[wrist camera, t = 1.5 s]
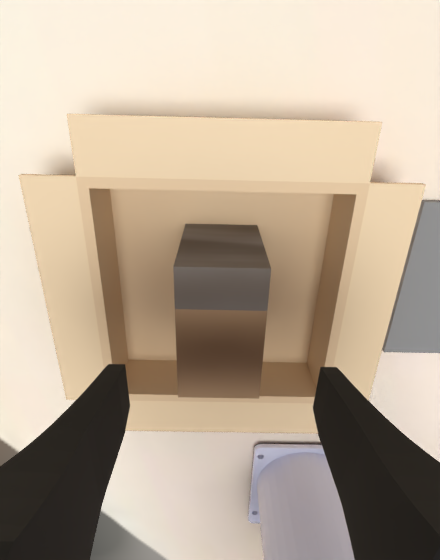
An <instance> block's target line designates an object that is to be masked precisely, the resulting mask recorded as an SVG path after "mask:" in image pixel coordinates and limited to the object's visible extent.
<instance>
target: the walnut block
mask: <svg viewBox="0 0 440 560" xmlns="http://www.w3.org/2000/svg"><path fill="white" fill-rule="evenodd" d="M173 272H174V300H175V328H176V356H177V384H178V397H191V398H253V399H259V396H260V385H261V374H262V364H263V353H264V342H265V331H266V320H267V310H268V299H269V288H270V277H271V266H270V263H269V260H268V257H267V254H266V251H265V247H264V244H263V241H262V238H261V235H260V232H259V229H258V226H257V225H231V224H185V227H184V231H183V234H182V238H181V241H180V245H179V248H178V252H177V255H176V259H175V262H174V266H173Z"/></svg>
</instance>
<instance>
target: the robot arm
mask: <svg viewBox="0 0 440 560" xmlns="http://www.w3.org/2000/svg"><path fill="white" fill-rule="evenodd" d="M129 409H130V400H129V392H128V383H127V375H126V367H125V364H108V365H107V366H106V367H105V368H104V369H103V370H102V372H101V373H100V374H99V375H98V376H97V377H96V379H95V380H94V381H93V382H92V383H91V384H90V385H89V387H88V388H87V389H86V390H85V391H84V392H83V393H82V394H81V395H80V396H79V398H78V399H77V400H76V401H75V402H74V403H73V404H72V405H71V406H70V407H69V408H68V409H67V410H66V411H65V412H64V413H63V414H62V415H61V416H60V417H59V418H58V419H57V420H56V421H55V422H54V423H53V424H52V425H51V426H50V427H49V428H47V429H46V430H45V431H44V432H43V433H42V434H41V435H40V436H38V437H37V438H36V439H35V440H34V441H33V442H31V443H30V444H29V445H28V446H27V447H25V448H24V449H23V450H22V451H20V452H19V453H18V454H16V455H15V456H14V457H12V458H11V459H10V460H8V461H7V462H6V463H4V464H3V465H2V466H0V560H90V556H91V551H92V546H93V542H94V537H95V532H96V528H97V524H98V519H99V515H100V511H101V506H102V503H103V499H104V496H105V492H106V489H107V486H108V483H109V480H110V477H111V474H112V471H113V468H114V465H115V462H116V458H117V455H118V452H119V449H120V446H121V443H122V440H123V437H124V433H125V429H126V424H127V419H128V414H129ZM313 412H314V417H315V422H316V426H317V431H318V435H319V438H320V441H321V444H322V445H304V444H258V445H256V446H255V448H254V456H253V467H252V478H251V489H250V500H249V511H248V520H249V522H251V523H260V527H261V537H262V548H263V558H264V560H440V462H438V461H437V460H436V459H434V458H433V457H432V456H430V455H429V454H428V453H426V452H425V451H424V450H423V449H421V448H420V447H419V446H418V445H416V444H415V443H414V442H413V441H411V440H410V439H409V438H408V437H406V436H405V435H404V434H403V433H402V432H401V431H400V430H398V429H397V428H396V427H395V426H394V425H393V424H392V423H391V422H390V421H389V420H387V419H386V418H385V417H384V416H383V415H382V414H381V413H380V412H379V411H378V410H377V409H376V408H375V407H374V406H373V405H372V404H371V403H370V402H369V401H368V400H367V399H366V398H365V397H364V396H363V395H362V394H361V393H360V391H359V390H358V389H357V388H356V387H355V386H354V385H353V384H352V383H351V382H350V381H349V380H348V379H347V377H346V376H345V375H344V374H343V373H342V372H341V371H340V370H339V369H338V368H337V367H320V372H319V377H318V383H317V388H316V393H315V398H314V404H313Z"/></svg>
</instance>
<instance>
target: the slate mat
mask: <svg viewBox="0 0 440 560" xmlns="http://www.w3.org/2000/svg"><path fill="white" fill-rule="evenodd" d="M382 350H383V351H384V352H415V353H440V201H430V200H422V201H421V205H420V209H419V212H418V216H417V220H416V224H415V227H414V231H413V235H412V239H411V242H410V246H409V250H408V254H407V257H406V261H405V265H404V269H403V273H402V276H401V280H400V284H399V288H398V291H397V295H396V299H395V303H394V306H393V310H392V314H391V318H390V321H389V325H388V329H387V333H386V336H385V340H384V344H383V348H382Z"/></svg>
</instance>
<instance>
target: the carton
mask: <svg viewBox="0 0 440 560" xmlns="http://www.w3.org/2000/svg"><path fill="white" fill-rule="evenodd" d="M67 119H68V126H69V133H70V140H71V147H72V154H73V160H74V167H75V174H76V175H42V174H21V175H19V179H20V184H21V189H22V193H23V198H24V203H25V208H26V212H27V217H28V222H29V226H30V231H31V236H32V240H33V245H34V250H35V255H36V259H37V264H38V269H39V273H40V278H41V283H42V287H43V292H44V297H45V302H46V306H47V311H48V316H49V320H50V325H51V330H52V335H53V339H54V344H55V349H56V353H57V358H58V363H59V367H60V372H61V377H62V382H63V386H64V391H65V396H66V400H77V399H78V398H79V396H80V395H81V394H82V393H83V392H84V391H85V390H86V389H87V388H88V387H89V385H90V384H91V383H92V382H93V381H94V380H95V379H96V377H97V376H98V375H99V374H100V373H101V372H102V370H103V369H104V368H105V367H106V366H107V365H108V364H125V367H126V375H127V383H128V392H129V400H130V409H129V414H128V419H127V424H126V429H125V431H182V432H249V433H316V434H318V431H317V426H316V422H315V417H314V412H313V404H314V398H315V393H316V388H317V383H318V377H319V372H320V367H337V368H338V369H339V370H340V371H341V372H342V373H343V374H344V375H345V376H346V377H347V379H348V380H349V381H350V382H351V383H352V384H353V385H354V386H355V387H356V388H357V389H358V390H359V391H360V393H361V394H362V395H363V396H364V397H365V398H366V399H367V400H369V397H370V393H371V389H372V385H373V381H374V378H375V374H376V370H377V366H378V363H379V359H380V355H381V351H382V348H383V344H384V340H385V336H386V333H387V329H388V325H389V321H390V318H391V314H392V310H393V306H394V303H395V299H396V295H397V291H398V288H399V284H400V280H401V276H402V273H403V269H404V265H405V261H406V257H407V254H408V250H409V246H410V242H411V239H412V235H413V231H414V227H415V224H416V220H417V216H418V212H419V209H420V205H421V201H422V197H423V194H424V190H425V186H426V185H425V184H423V183H384V182H370V181H371V176H372V171H373V166H374V161H375V156H376V151H377V146H378V141H379V136H380V131H381V126H382V122H371V121H331V120H292V119H253V118H213V117H174V116H135V115H96V114H67ZM185 224H231V225H257V226H258V229H259V232H260V235H261V238H262V241H263V244H264V247H265V251H266V254H267V257H268V260H269V263H270V266H271V277H270V288H269V299H268V310H267V320H266V331H265V342H264V353H263V364H262V374H261V385H260V396H259V399H253V398H191V397H178V384H177V356H176V328H175V300H174V272H173V266H174V262H175V259H176V255H177V252H178V248H179V245H180V241H181V238H182V234H183V231H184V227H185Z"/></svg>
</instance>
